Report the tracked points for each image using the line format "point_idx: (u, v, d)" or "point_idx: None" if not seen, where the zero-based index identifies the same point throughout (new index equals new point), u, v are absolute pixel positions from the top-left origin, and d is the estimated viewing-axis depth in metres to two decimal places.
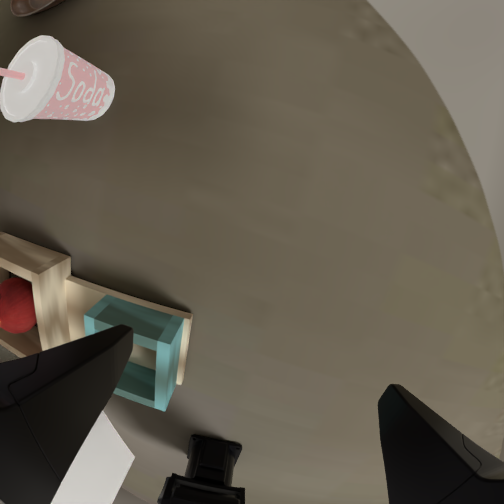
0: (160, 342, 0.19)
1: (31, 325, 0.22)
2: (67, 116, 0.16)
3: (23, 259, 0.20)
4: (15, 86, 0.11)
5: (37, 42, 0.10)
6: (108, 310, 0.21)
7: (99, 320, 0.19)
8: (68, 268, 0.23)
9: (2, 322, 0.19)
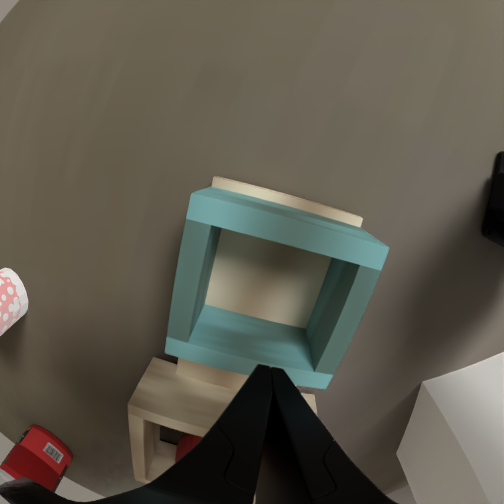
0: (188, 213, 0.11)
1: None
2: None
3: None
4: None
5: None
6: None
7: (168, 327, 0.12)
8: (166, 364, 0.18)
9: None
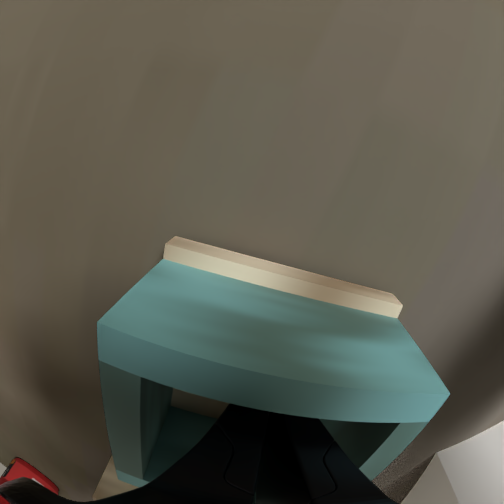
0: (100, 353, 0.05)
1: None
2: None
3: None
4: None
5: None
6: None
7: (115, 462, 0.07)
8: None
9: None
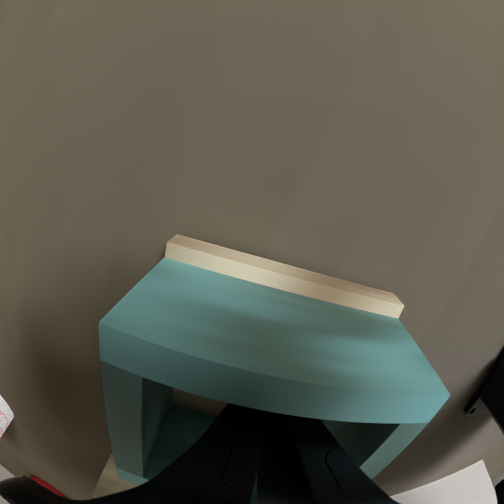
0: (102, 352, 0.05)
1: None
2: None
3: None
4: None
5: None
6: None
7: (115, 460, 0.07)
8: None
9: None
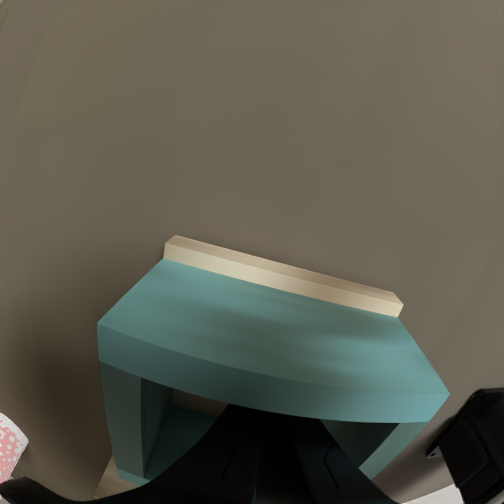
0: (100, 353, 0.05)
1: None
2: (7, 459, 0.13)
3: None
4: None
5: None
6: None
7: (116, 461, 0.07)
8: None
9: None
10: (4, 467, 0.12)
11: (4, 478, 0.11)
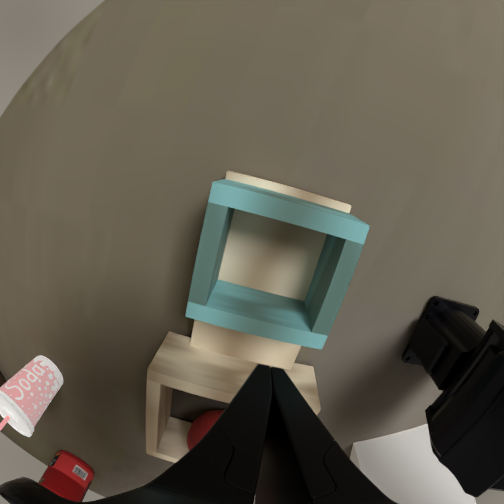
0: (210, 197, 0.14)
1: None
2: (43, 394, 0.21)
3: None
4: (13, 423, 0.17)
5: None
6: None
7: (189, 293, 0.15)
8: (181, 337, 0.21)
9: None
10: (40, 401, 0.20)
11: (38, 413, 0.20)
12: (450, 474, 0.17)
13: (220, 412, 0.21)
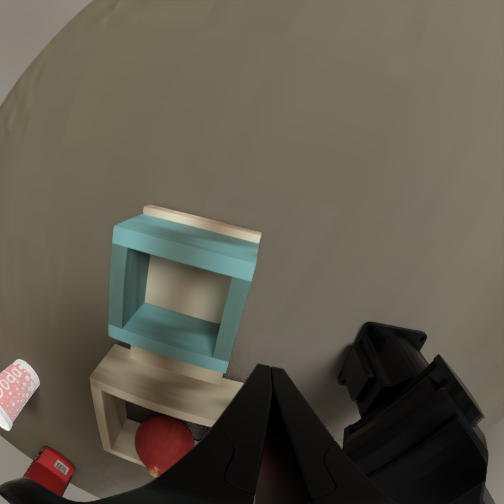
0: (113, 239, 0.15)
1: (181, 438, 0.21)
2: (21, 393, 0.22)
3: None
4: None
5: None
6: None
7: (109, 317, 0.16)
8: (124, 349, 0.22)
9: (157, 465, 0.19)
10: (18, 400, 0.21)
11: (16, 410, 0.20)
12: None
13: (162, 418, 0.23)
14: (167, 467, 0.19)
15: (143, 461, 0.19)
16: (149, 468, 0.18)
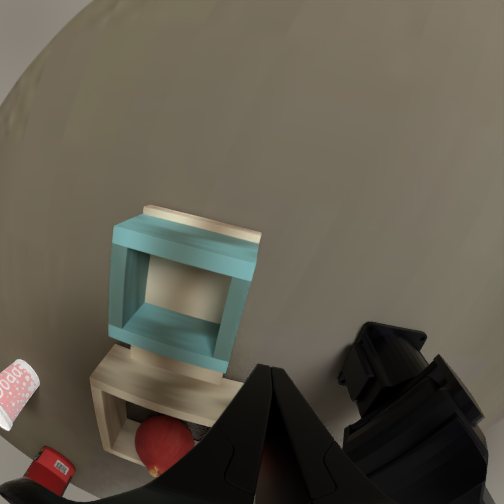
0: (113, 239, 0.15)
1: (181, 438, 0.21)
2: (21, 393, 0.22)
3: None
4: None
5: None
6: None
7: (109, 317, 0.16)
8: (124, 349, 0.22)
9: (157, 465, 0.19)
10: (18, 400, 0.21)
11: (16, 410, 0.20)
12: None
13: (162, 418, 0.23)
14: (167, 467, 0.19)
15: (143, 461, 0.19)
16: (149, 468, 0.18)
